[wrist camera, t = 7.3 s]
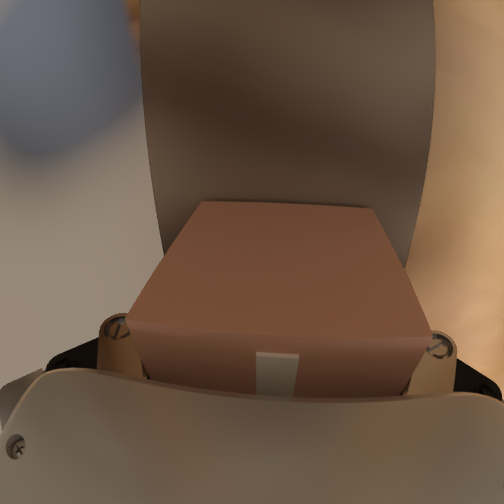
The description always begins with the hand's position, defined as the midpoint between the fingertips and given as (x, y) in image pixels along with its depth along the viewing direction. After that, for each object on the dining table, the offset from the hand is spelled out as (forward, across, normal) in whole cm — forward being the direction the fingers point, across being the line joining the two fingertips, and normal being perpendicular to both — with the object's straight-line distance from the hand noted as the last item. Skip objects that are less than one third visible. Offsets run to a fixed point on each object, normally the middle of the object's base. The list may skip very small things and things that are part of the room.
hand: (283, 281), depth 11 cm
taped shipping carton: (0, 0, 0) cm, 0 cm away
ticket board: (+2, 0, -14) cm, 14 cm away
